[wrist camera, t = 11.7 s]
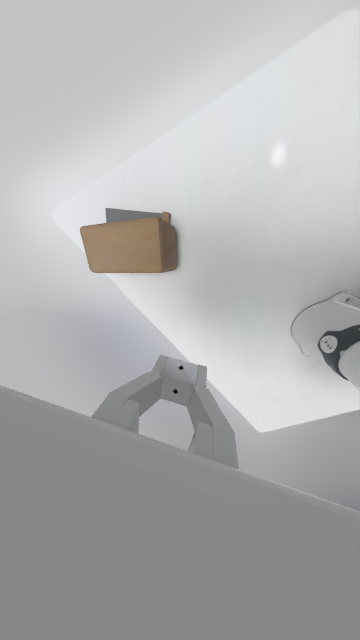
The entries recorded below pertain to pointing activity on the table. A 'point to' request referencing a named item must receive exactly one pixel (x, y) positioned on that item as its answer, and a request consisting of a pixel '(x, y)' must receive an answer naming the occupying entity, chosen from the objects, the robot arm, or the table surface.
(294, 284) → the table surface
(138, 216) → the mat
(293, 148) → the table surface
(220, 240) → the table surface
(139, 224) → the wooden block
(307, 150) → the table surface
